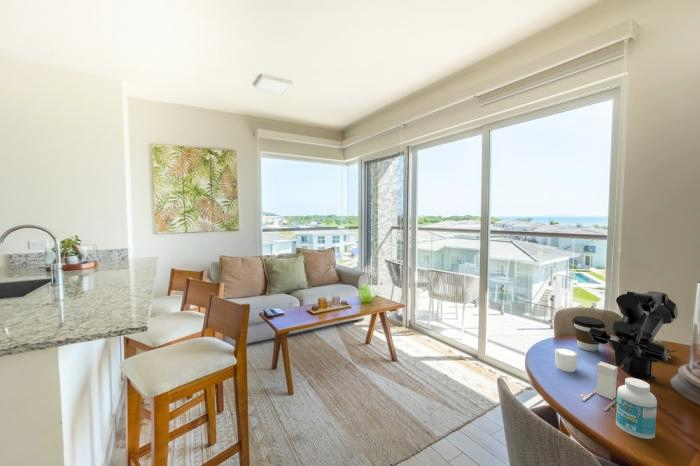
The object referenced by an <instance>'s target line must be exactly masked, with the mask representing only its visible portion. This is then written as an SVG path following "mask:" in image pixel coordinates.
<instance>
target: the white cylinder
mask: <svg viewBox="0 0 700 466" xmlns="http://www.w3.org/2000/svg"><path fill="white" fill-rule="evenodd" d="M554 356H555V357H554V359H555V366H556V368H557V369H558V370H561V371H564V372H568V373H573V372H575V371H576V370H577V363H578V358H579V354H578V352H576V351H575V350H572V349H570V348H564V347H556V348H555V349H554Z"/></svg>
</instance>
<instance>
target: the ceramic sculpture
mask: <svg viewBox="0 0 700 466" xmlns="http://www.w3.org/2000/svg"><path fill="white" fill-rule="evenodd" d="M653 343H656V344H659V345H663V346H664V347H665V344H664V343H663V341H662V340H661V339H660V338H658V337H656V336H655V337H654V339H653ZM665 348H666V350H667V353H668V359H667V360H675V358H674V357H672V356H670V355H669V354H670V353H675V352H676V350H675V349H670V348H667V347H665Z"/></svg>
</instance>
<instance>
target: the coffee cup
mask: <svg viewBox="0 0 700 466" xmlns="http://www.w3.org/2000/svg"><path fill="white" fill-rule="evenodd" d="M571 322H572V323H573V324H574V325H573V328H574V334H575V335H574V336H575V339H576V342H577V346H578V348H580V349H581V350H583V351H586V352H587V351H588V352H596V351H597V350H599V345H600V344H601V343H597V342H594V341H593V340H592V338H591V337H590V335H589V330H590V329H591V328H593V327H594V328H598V329H602V330H604V329H605V328H606V324H605V322H604V321H603V320H601V319H598V318H594V317H592V316H582V315H581V316H580V315H578V316H576V315H575V316H574V317H573V318H572V320H571Z"/></svg>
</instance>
